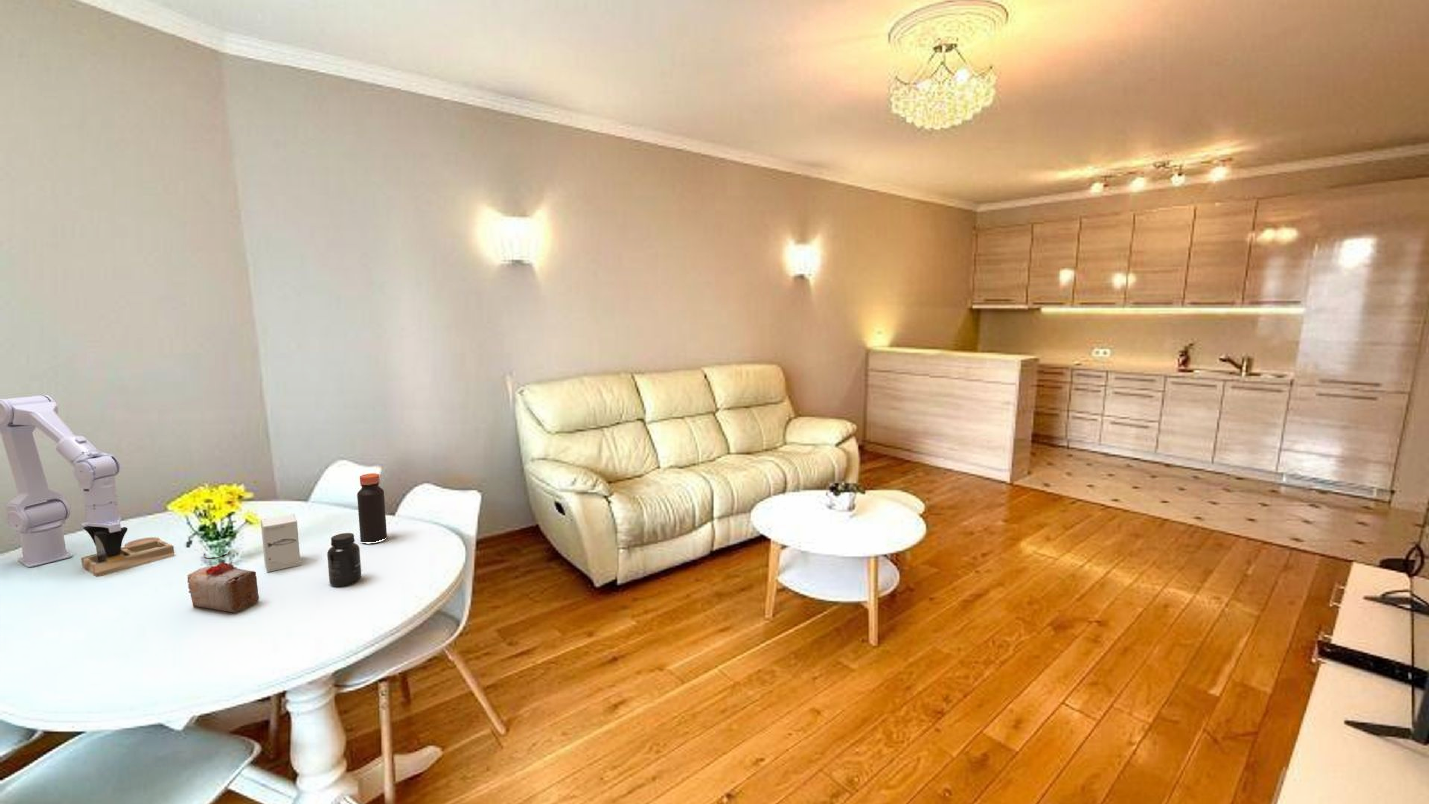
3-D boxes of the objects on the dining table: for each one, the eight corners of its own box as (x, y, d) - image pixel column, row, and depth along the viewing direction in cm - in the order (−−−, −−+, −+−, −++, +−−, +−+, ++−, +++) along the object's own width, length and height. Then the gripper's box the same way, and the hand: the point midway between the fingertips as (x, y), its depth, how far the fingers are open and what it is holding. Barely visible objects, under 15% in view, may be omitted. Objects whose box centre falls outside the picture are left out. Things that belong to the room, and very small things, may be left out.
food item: (183, 608, 128) (178, 568, 127) (221, 592, 136) (216, 553, 134) (231, 617, 125) (226, 575, 124) (266, 599, 133) (262, 560, 131)
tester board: (82, 567, 147) (80, 554, 146) (159, 548, 160) (157, 535, 159) (96, 576, 142) (94, 563, 142) (174, 555, 155) (173, 543, 155)
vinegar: (378, 545, 165) (373, 479, 162) (355, 544, 165) (350, 478, 162) (391, 536, 172) (387, 472, 169) (369, 535, 172) (365, 472, 169)
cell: (95, 563, 147) (91, 531, 146) (117, 558, 150) (113, 527, 149) (101, 566, 145) (97, 534, 144) (123, 561, 148) (119, 529, 147)
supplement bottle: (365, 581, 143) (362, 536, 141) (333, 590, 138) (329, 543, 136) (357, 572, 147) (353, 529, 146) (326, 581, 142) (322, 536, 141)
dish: (121, 550, 158) (120, 543, 157) (154, 542, 164) (153, 535, 164) (130, 555, 154) (129, 548, 154) (164, 547, 161) (163, 540, 160)
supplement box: (266, 573, 146) (261, 526, 144) (264, 563, 152) (259, 518, 150) (301, 565, 151) (297, 520, 149) (298, 556, 156) (294, 512, 155)
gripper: (69, 502, 145) (76, 552, 147) (89, 512, 138) (97, 564, 140) (107, 495, 151) (114, 543, 153) (129, 504, 145) (136, 554, 147)
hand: (108, 552), depth 147 cm, fingers open, 6 cm apart
